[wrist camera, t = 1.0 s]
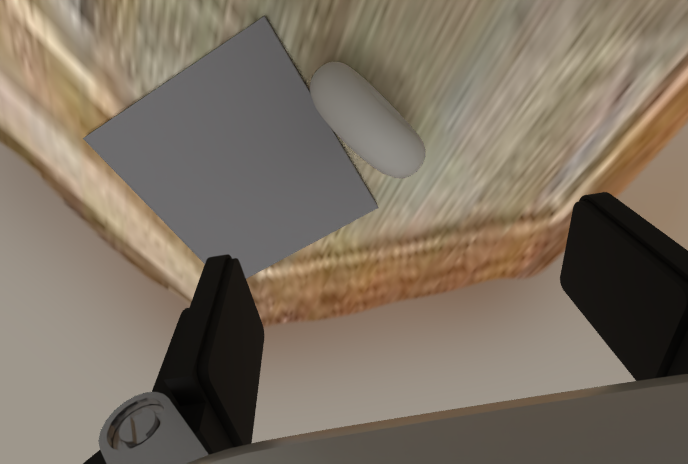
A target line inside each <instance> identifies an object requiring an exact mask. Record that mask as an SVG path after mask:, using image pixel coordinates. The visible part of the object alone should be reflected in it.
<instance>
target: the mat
mask: <svg viewBox="0 0 688 464" xmlns="http://www.w3.org/2000/svg"><path fill="white" fill-rule="evenodd" d="M83 139H84V140H85V141H86V142H87V143H88V144H89V145H90V146H91V147H92V148H93V149H94V150H95V151H96V152H97V153H98V154H99V155H100V157H101V158H102V159H103V160H104V161H105V162H106V163H107V164H108V165H109V166H110V167H111V168H112V169H113V170H114V171H115V172H116V173H117V174H118V175H119V176H120V177H121V178H122V179H123V180H124V181H125V182H126V183H127V184H128V185H129V186H130V187H131V188H132V189H133V191H134V192H135V193H136V194H137V195H138V196H139V197H140V198H141V199H142V200H143V201H144V202H145V203H146V204H147V205H148V206H149V207H150V208H151V209H152V210H153V211H154V212H155V213H156V214H157V215H158V216H159V217H160V218H161V219H162V220H163V221H164V222H165V223H166V224H167V226H168V227H169V228H170V229H171V230H172V231H173V232H174V233H175V234H176V235H177V236H178V237H179V238H180V239H181V240H182V241H183V242H184V243H185V244H186V245H187V246H188V247H189V248H190V249H191V250H192V251H193V252H194V253H195V254H196V255H197V256H198V257H199V258H200V259H201V261H202V262H203V263H204V264H205V263H206V260H207V258H209V257H214V256H220V255H226V254H229V255H230V256H231V257H232V259H233V258H238V260H239V262H240V264H241V267H242V270H243V273H244V275H245V278H248V277H250V276H252V275H254V274H256V273H257V272H259V271H261V270H263V269H265V268H267V267H269V266H271V265H272V264H274V263H276V262H278V261H280V260H282V259H284V258H285V257H287V256H289V255H291V254H293V253H295V252H297V251H299V250H300V249H302V248H304V247H306V246H308V245H310V244H312V243H313V242H315V241H317V240H319V239H321V238H323V237H325V236H326V235H328V234H330V233H332V232H334V231H336V230H338V229H340V228H341V227H343V226H345V225H347V224H349V223H351V222H353V221H354V220H356V219H358V218H360V217H362V216H364V215H366V214H367V213H369V212H371V211H373V210H375V209H377V208H378V206H377V203H376V202H375V200H374V198H373V197H372V195H371V193H370V192H369V190H368V188H367V187H366V185H365V183H364V182H363V180H362V178H361V176H360V175H359V173H358V171H357V170H356V168H355V166H354V165H353V163H352V161H351V160H350V158H349V156H348V155H347V153H346V151H345V150H344V148H343V146H342V144H341V143H340V141H339V139H338V138H337V136H336V134H335V133H334V131H333V130H332V129H331V127H330V126H329V125H328V124H327V123H326V121H325V120H324V119H323V118H322V116H321V115H320V113H319V112H318V110H317V109H316V107H315V105H314V102H313V100H312V97H311V95H310V91H309V89H308V87H307V86H306V84H305V82H304V81H303V79H302V77H301V75H300V74H299V72H298V70H297V69H296V67H295V65H294V64H293V62H292V60H291V59H290V57H289V55H288V54H287V52H286V50H285V49H284V47H283V45H282V43H281V42H280V40H279V38H278V37H277V35H276V33H275V32H274V30H273V28H272V27H271V25H270V23H269V22H268V20H267V18H266V17H265V16H264V17H262V18H261V19H259V20H258V21H256V22H255V23H253V24H252V25H250V26H249V27H247V28H246V29H244V30H243V31H241V32H240V33H238V34H237V35H235V36H234V37H232V38H231V39H229V40H228V41H227V42H225V43H224V44H222V45H221V46H219V47H218V48H216V49H215V50H213V51H212V52H210V53H209V54H207V55H206V56H204V57H203V58H201V59H200V60H198V61H197V62H195V63H194V64H192V65H191V66H189V67H188V68H186V69H185V70H183V71H182V72H181V73H179V74H178V75H176V76H175V77H173V78H172V79H170V80H169V81H167V82H166V83H164V84H163V85H161V86H160V87H158V88H157V89H155V90H154V91H152V92H151V93H149V94H148V95H146V96H145V97H143V98H142V99H140V100H139V101H137V102H136V103H134V104H133V105H132V106H130V107H129V108H127V109H126V110H124V111H123V112H121V113H120V114H118V115H117V116H115V117H114V118H112V119H111V120H109V121H108V122H106V123H105V124H103V125H102V126H100V127H99V128H97V129H96V130H94V131H93V132H91V133H90V134H88V135H87V136H86V137H84V138H83Z"/></svg>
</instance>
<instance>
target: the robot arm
mask: <svg viewBox="0 0 688 464" xmlns="http://www.w3.org/2000/svg"><path fill="white" fill-rule="evenodd" d="M560 283H561V286H562V288H563V290H564V291H565V292H566V294H567V295H568V296H569V297H570V299H571V300H572V301H573V302H574V304H575V305H576V306H577V307H578V309H579V310H580V311H581V312H582V313H583V315H584V316H585V317H586V319H587V320H588V321H589V322H590V324H591V325H592V326H593V327H594V329H595V330H596V331H597V332H598V333H599V335H600V336H601V337H602V339H603V340H604V341H605V342H606V344H607V345H608V346H609V347H610V349H611V350H612V351H613V352H614V353H615V355H616V356H617V357H618V358H619V360H620V361H621V362H622V363H623V365H624V366H625V367H626V368H627V370H628V371H629V372H630V373H631V375H632V376H633V377H634V378H635V380H636V381H634V382H627V383H621V384H614V385H607V386H601V387H594V388H588V389H581V390H575V391H568V392H561V393H554V394H548V395H541V396H535V397H528V398H522V399H516V400H509V401H503V402H496V403H490V404H483V405H477V406H471V407H465V408H458V409H452V410H446V411H439V412H433V413H426V414H421V415H414V416H408V417H401V418H395V419H389V420H383V421H377V422H370V423H365V424H358V425H352V426H346V427H340V428H334V429H328V430H322V431H316V432H310V433H305V434H299V435H294V436H288V437H282V438H277V439H271V440H266V441H261V442H256V443H252V444H251V442H252V434H253V426H254V418H255V409H256V401H257V393H258V384H259V377H260V368H261V360H262V352H263V343H264V329H263V325H262V322H261V319H260V316H259V314H258V311H257V308H256V306H255V303H254V300H253V297H252V295H251V292H250V289H249V286H248V284H247V281H246V278H245V275H244V273H243V270H242V267H241V264H240V262H239V260H238V258H233V259H232V257H231V256H230V255H229V254H226V255H220V256H214V257H209V258H207V260H206V263H205V266H204V269H203V271H202V274H201V277H200V280H199V283H198V285H197V288H196V291H195V294H194V297H193V300H192V302H191V305H190V308H186V309H185V310H183V312H182V313H181V315H180V318H179V321H178V323H177V326H176V329H175V331H174V334H173V337H172V339H171V342H170V345H169V347H168V350H167V353H166V355H165V358H164V361H163V364H162V366H161V369H160V371H159V374H158V377H157V379H156V382H155V385H154V387H153V390H152V392H147V393H143V394H140V395H137V396H134V397H133V398H131V399H129V400H127V401H126V402H124V403H123V404H122V405H120V406H119V407H118V408H117V409H116V410H114V412H113V413H112V414H111V415H110V416H109V418H108V419H107V420H106V422H105V424H104V426H103V427H102V429H101V432H100V436H99V446H100V450H99V451H98V452H97V453H95V454H94V455H93V456H92V457H91V458H89V459H88V460H87V461H86V462H85V463H83V464H688V251H687V250H686V249H685V248H683V247H682V246H680V245H679V244H678V243H676V242H675V241H674V240H672V239H671V238H670V237H668V236H667V235H666V234H664V233H663V232H661V231H660V230H659V229H657V228H656V227H655V226H653V225H652V224H650V223H649V222H648V221H646V220H645V219H644V218H642V217H641V216H640V215H638V214H637V213H636V212H634V211H633V210H631V209H630V208H629V207H627V206H626V205H625V204H623V203H622V202H620V201H619V200H618V199H616V198H615V197H614V196H612V195H611V194H609V193H607V192H602V193H596V194H590V195H584V196H582V197H581V198H580V200H579V202H576V203H575V205H574V207H573V212H572V217H571V223H570V228H569V233H568V238H567V244H566V249H565V254H564V260H563V265H562V270H561V275H560Z"/></svg>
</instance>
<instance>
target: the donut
mask: <svg viewBox="0 0 688 464" xmlns="http://www.w3.org/2000/svg"><path fill="white" fill-rule="evenodd" d="M310 95H311V97H312V100H313V102H314V105H315V107H316V109H317V110H318V112H319V113H320V115H321V116H322V118H323V119H324V120H325V121H326V123H327V124H328V125H329V126H330V127H331V129H332V130H333V131H334V132H335V133H336V134H337V135H338V136H339V137H340V138H341V139H342V140H343V141H344V142H345V143H346V144H347V145H348V146H349V147H350V148H351V149H352V150H353V151H354V152H355V153H357V154H358V155H359V156H360V157H361V158H362V159H363V160H365V161H366V162H367V163H369V164H370V165H371V166H372V167H374V168H375V169H377V170H378V171H380V172H382V173H383V174H386V175H389V176H392V177H394V178H405V177H409V176H411V175H412V174H414V173H415V172H417V171H418V169H419V168H420V167H421V166H422V164H423V162H424V159H425V146H424V143H423V141H422V139H421V138H420V137H419V135H418V134H417V133H416V131H415V130H414V129H413V128H412V126H411V125H410V124H409V123H408V122H407V121H406V120H405V119H404V118H403V116H402V115H401V114H400V113H399V112H398V111H397V110H396V109H395V108H394V107H393V106H392V105H391V104H390V103H389V102H388V101H387V100H386V99H385V98H384V97H383V96H382V95H381V94H380V93H379V92H378V91H377V90H376V89H375V88H374V87H373V86H372V85H371V84H370V83H369V82H368V81H366V80H365V79H364V78H363V77H362V76H361V75H360V74H358V73H357V72H356V71H355V70H353V69H352V68H351V67H349V66H348V65H346V64H344V63H341V62H338V61H337V62H329V63H326V64H324V65H322V66H321V67H320V68H319V69H318V70H317V71H316V72H315V74H314V75H313V77H312V79H311V83H310Z"/></svg>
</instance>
